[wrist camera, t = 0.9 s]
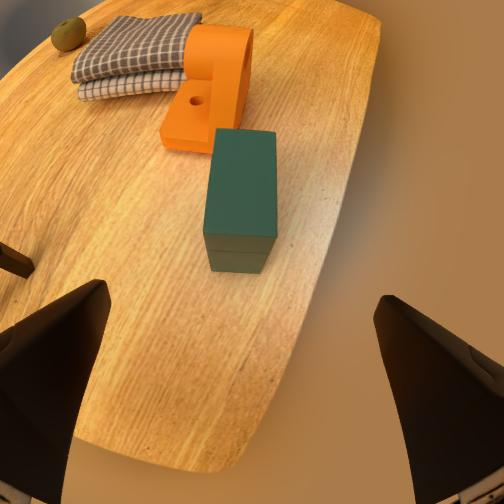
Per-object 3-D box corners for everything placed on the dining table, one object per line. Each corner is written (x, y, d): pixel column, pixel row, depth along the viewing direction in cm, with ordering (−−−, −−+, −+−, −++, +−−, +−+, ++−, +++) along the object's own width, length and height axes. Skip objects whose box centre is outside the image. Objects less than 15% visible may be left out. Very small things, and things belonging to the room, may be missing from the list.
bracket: (190, 85, 28) (184, 4, 17) (248, 92, 29) (260, 9, 17) (161, 152, 26) (134, 62, 14) (230, 161, 26) (236, 66, 14)
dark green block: (259, 273, 23) (277, 237, 15) (211, 271, 22) (202, 232, 14) (261, 193, 25) (276, 131, 17) (218, 190, 25) (216, 127, 17)
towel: (79, 113, 26) (60, 66, 18) (118, 51, 33) (111, 15, 25) (195, 95, 27) (191, 38, 20) (205, 40, 34) (205, 0, 27)
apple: (52, 62, 32) (42, 37, 25) (65, 44, 34) (57, 21, 27) (83, 50, 33) (74, 23, 26) (94, 33, 35) (88, 9, 28)
